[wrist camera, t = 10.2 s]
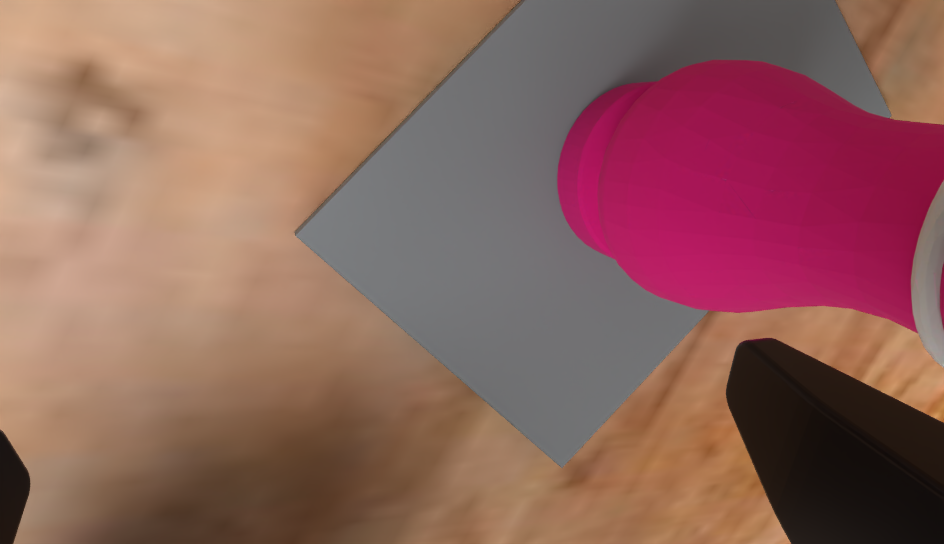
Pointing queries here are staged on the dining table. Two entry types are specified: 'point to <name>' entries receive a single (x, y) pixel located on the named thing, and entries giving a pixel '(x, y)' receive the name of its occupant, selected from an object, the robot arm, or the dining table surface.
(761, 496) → the dining table surface
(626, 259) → the magenta pepper mill
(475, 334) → the place mat
